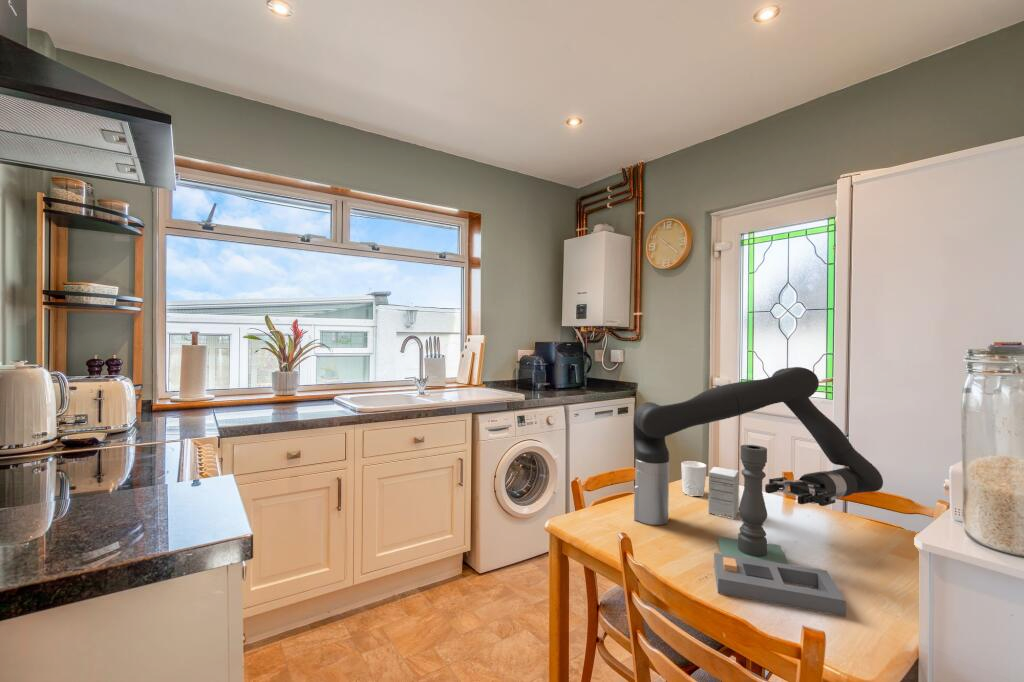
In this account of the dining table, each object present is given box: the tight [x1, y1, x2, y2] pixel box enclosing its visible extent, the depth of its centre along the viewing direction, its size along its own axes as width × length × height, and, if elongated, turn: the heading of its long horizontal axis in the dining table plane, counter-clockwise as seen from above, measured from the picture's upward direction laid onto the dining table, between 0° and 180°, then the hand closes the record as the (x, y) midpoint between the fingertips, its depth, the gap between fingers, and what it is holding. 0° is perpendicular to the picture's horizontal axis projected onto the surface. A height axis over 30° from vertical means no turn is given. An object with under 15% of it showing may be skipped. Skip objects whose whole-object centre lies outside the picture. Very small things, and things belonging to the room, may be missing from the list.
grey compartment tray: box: [713, 552, 847, 618], centre depth 95 cm, size 22×12×4 cm, turn 70°
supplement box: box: [707, 466, 740, 519], centre depth 137 cm, size 7×7×13 cm
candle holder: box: [737, 444, 768, 557], centre depth 110 cm, size 6×6×25 cm
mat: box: [717, 536, 790, 565], centre depth 110 cm, size 14×12×1 cm
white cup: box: [680, 460, 707, 497], centre depth 154 cm, size 8×8×10 cm
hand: (782, 494), depth 115 cm, fingers open, 8 cm apart
